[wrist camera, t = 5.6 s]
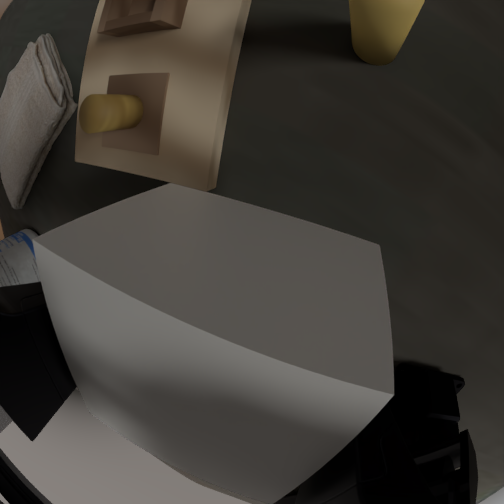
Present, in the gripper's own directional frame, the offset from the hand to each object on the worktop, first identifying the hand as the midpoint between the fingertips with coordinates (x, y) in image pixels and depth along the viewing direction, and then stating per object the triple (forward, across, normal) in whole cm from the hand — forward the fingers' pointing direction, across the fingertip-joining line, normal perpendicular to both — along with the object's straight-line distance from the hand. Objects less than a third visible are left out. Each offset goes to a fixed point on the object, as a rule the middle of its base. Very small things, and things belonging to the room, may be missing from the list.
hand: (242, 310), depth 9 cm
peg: (+8, -2, -11) cm, 14 cm away
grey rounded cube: (0, 0, 0) cm, 0 cm away
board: (+8, +11, -9) cm, 16 cm away
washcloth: (+9, +29, -4) cm, 30 cm away
